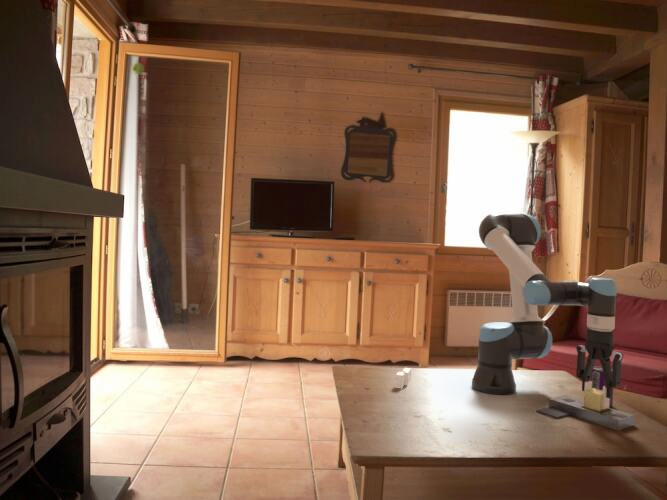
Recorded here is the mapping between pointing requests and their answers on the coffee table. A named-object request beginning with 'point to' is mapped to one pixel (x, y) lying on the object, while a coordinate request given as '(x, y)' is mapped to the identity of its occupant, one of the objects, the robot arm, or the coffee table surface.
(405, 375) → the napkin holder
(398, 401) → the coffee table surface
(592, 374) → the beverage can
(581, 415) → the rack rail
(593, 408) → the yellow rectangular block
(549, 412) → the rubber mat
